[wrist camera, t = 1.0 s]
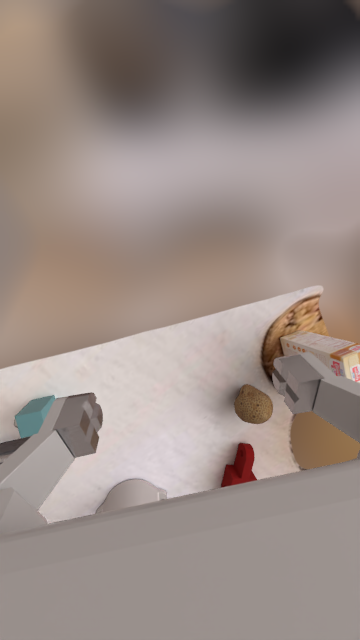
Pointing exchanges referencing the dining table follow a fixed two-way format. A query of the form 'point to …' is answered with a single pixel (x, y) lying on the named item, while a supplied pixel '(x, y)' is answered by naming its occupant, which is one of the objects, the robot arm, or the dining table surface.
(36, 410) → the block
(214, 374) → the dining table surface
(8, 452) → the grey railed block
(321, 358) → the coffeecake box
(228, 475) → the mechanical linkage
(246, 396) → the natural sponge
